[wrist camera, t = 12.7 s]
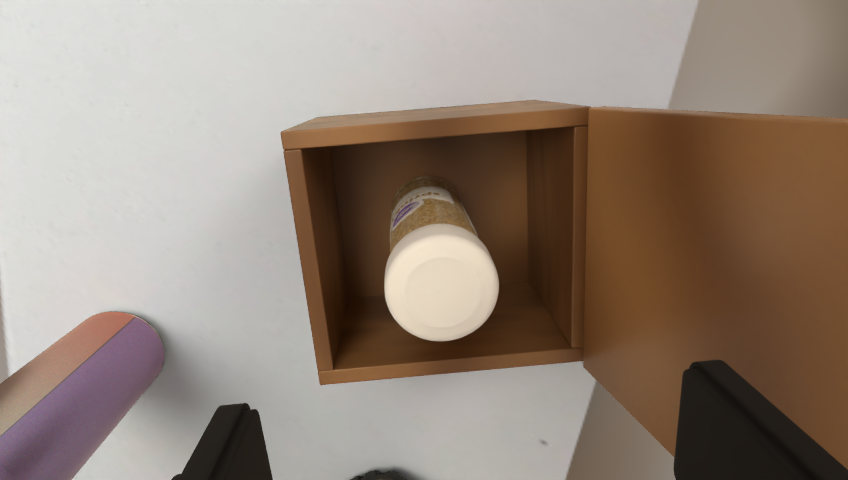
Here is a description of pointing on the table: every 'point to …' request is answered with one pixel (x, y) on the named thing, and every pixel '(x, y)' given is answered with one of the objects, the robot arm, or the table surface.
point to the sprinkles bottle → (437, 264)
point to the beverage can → (75, 396)
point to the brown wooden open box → (487, 209)
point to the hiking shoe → (381, 476)
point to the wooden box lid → (719, 261)
